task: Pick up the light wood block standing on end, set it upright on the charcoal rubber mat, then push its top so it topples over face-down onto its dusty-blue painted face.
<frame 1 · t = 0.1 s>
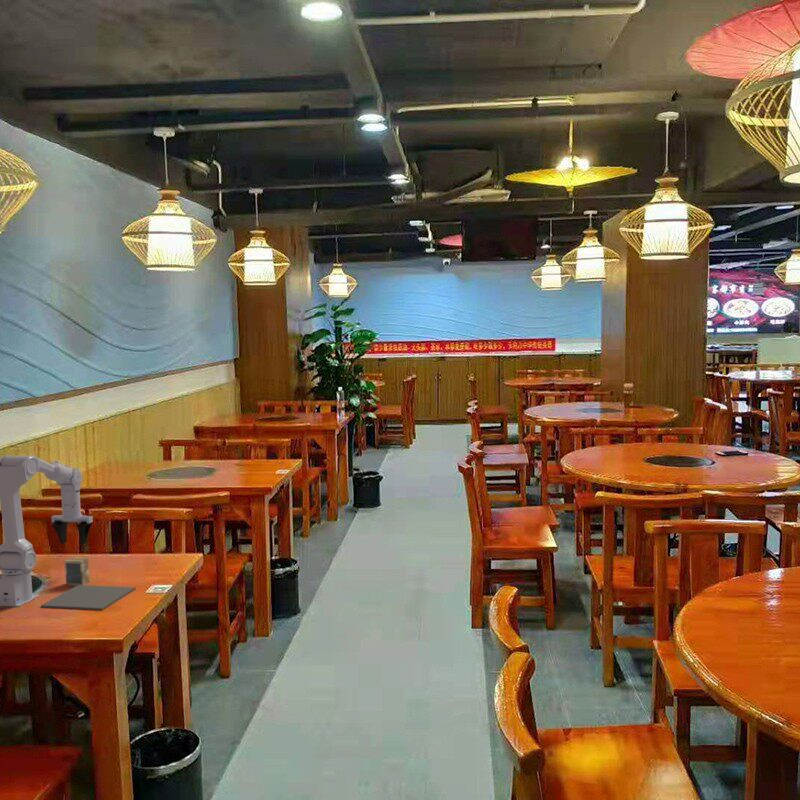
hand: (73, 543, 255), 10 cm above the table, tool pointing down, fingers open, 7 cm apart
light wood block: (78, 583, 243), on the table
mat: (89, 597, 229), on the table
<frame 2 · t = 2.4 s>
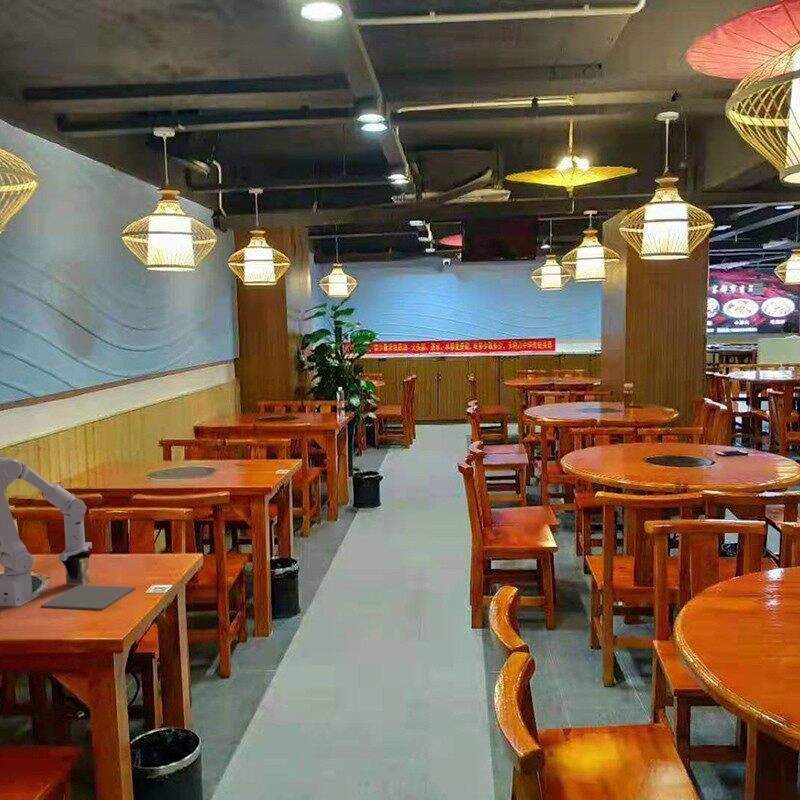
hand: (77, 576, 243), 2 cm above the table, tool pointing down, fingers closed on light wood block, 4 cm apart
light wood block: (78, 583, 243), on the table, touching gripper
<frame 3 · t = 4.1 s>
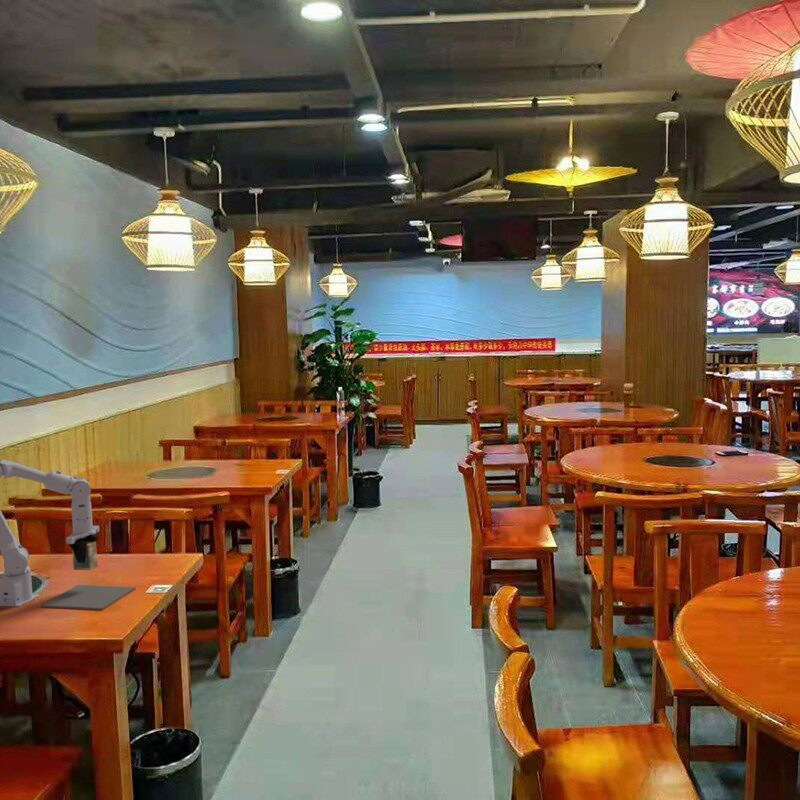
hand: (85, 560, 236), 9 cm above the table, tool pointing down, fingers closed on light wood block, 4 cm apart
light wood block: (85, 568, 236), point 7 cm above the table, touching gripper
when the fingers open (4 cm above the table, at t = 5.8 s): light wood block stays where it is, resting on mat.
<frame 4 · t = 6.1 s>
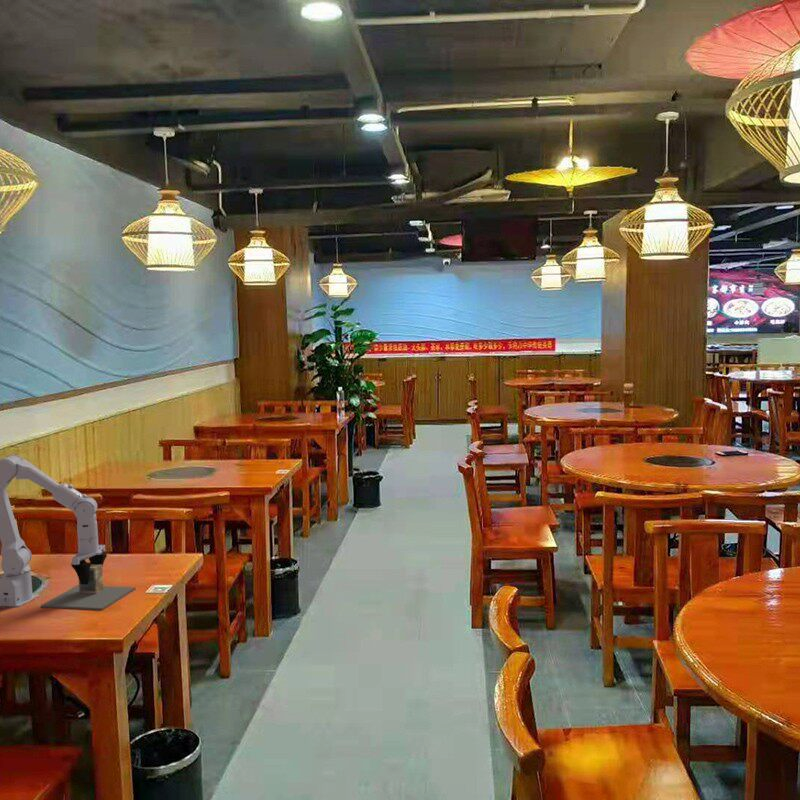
hand: (90, 580, 233), 4 cm above the table, tool pointing down, fingers open, 6 cm apart
light wood block: (91, 591, 233), point 1 cm above the table, touching mat
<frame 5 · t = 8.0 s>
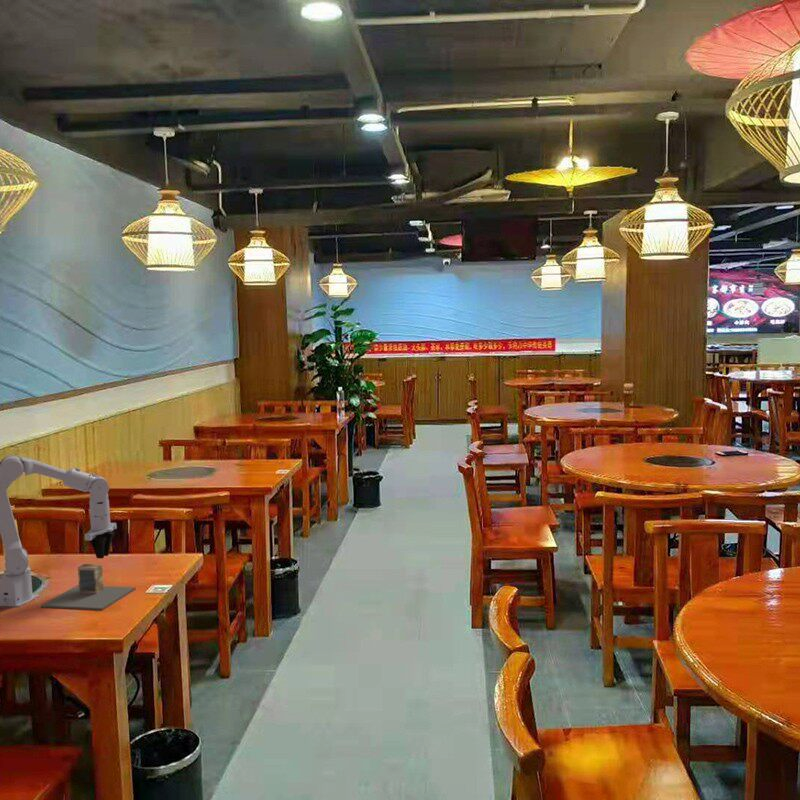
hand: (102, 556, 239), 9 cm above the table, tool pointing down, fingers closed
nothing on the table moved.
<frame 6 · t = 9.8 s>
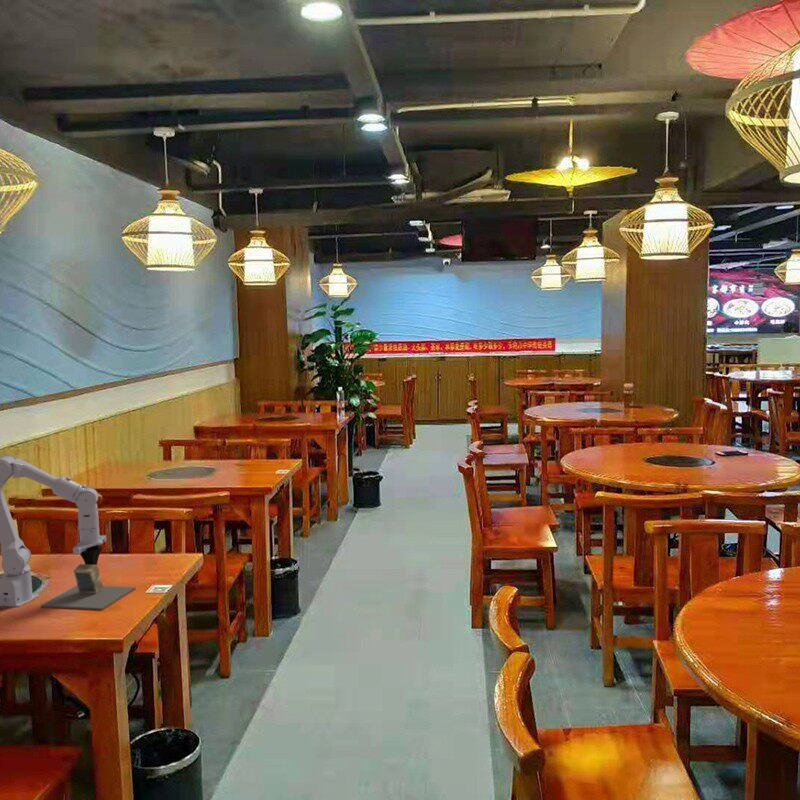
hand: (91, 570, 233), 7 cm above the table, tool pointing down, fingers closed
light wood block: (91, 589, 233), point 1 cm above the table, tilted 16°, touching gripper, mat
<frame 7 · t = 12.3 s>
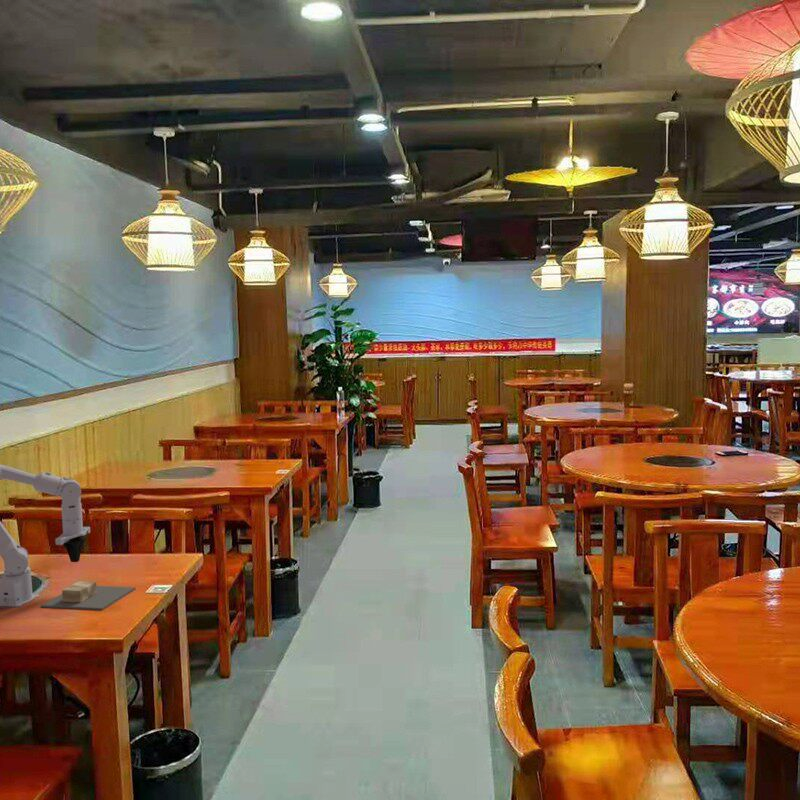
hand: (75, 561, 235), 9 cm above the table, tool pointing down, fingers closed
light wood block: (87, 587, 231), point 2 cm above the table, tilted 90°, touching mat
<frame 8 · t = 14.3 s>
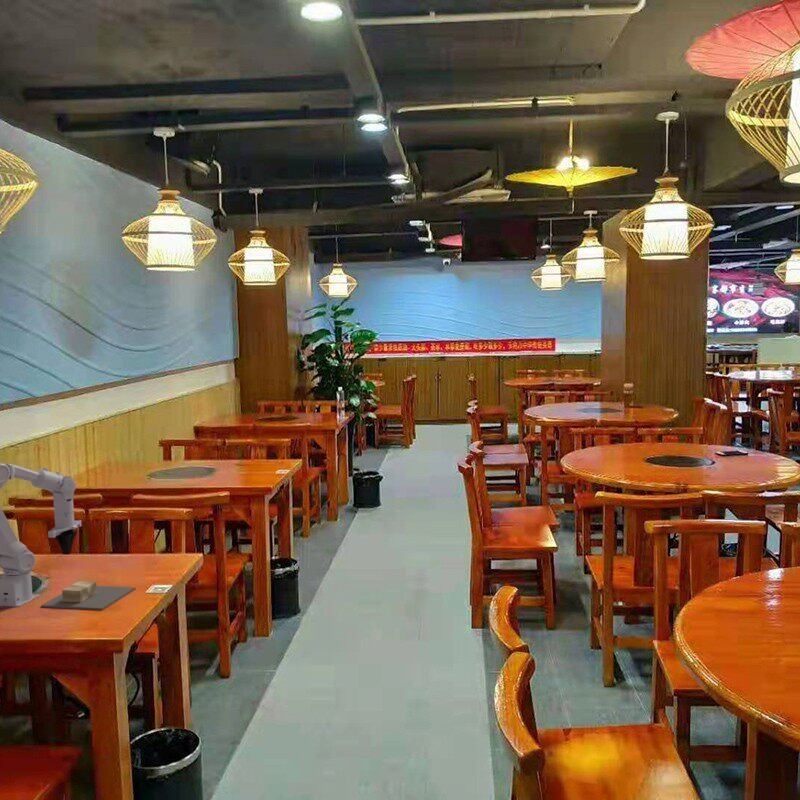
hand: (66, 553, 244), 9 cm above the table, tool pointing down, fingers closed
nothing on the table moved.
at the end: light wood block tilted 90°; light wood block inside the target area (2.1 cm from its centre), point 2.5 cm above the table; the gripper is holding nothing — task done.
